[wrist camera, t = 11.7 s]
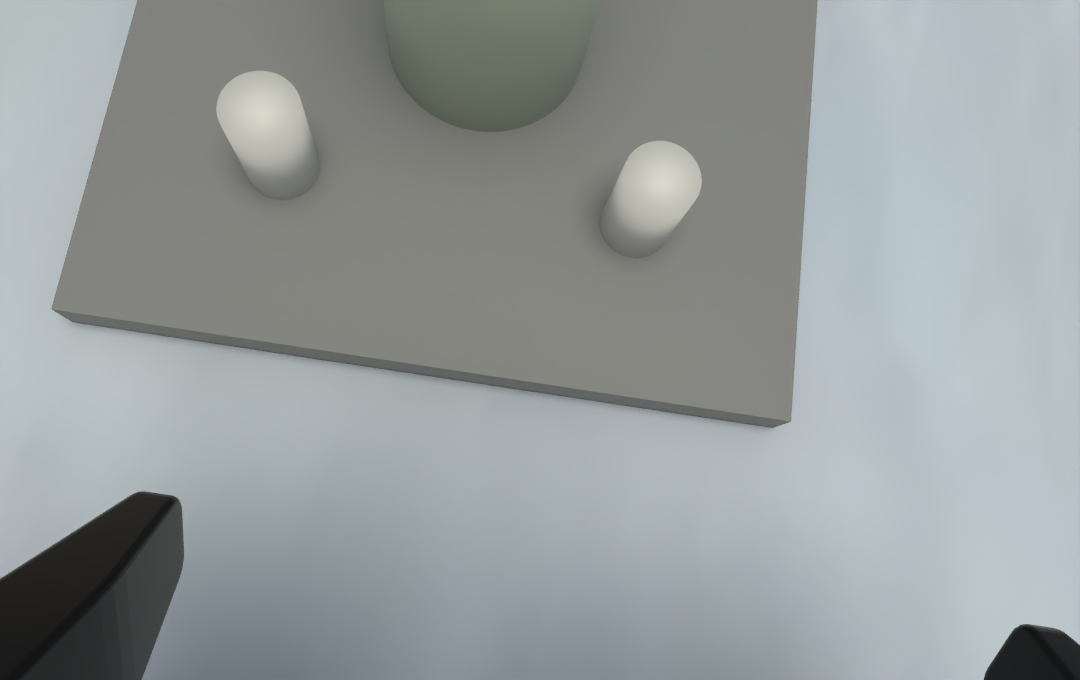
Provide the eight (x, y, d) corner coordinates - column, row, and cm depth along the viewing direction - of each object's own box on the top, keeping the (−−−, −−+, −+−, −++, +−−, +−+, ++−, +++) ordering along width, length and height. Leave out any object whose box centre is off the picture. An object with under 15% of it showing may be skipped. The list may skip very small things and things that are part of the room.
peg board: (773, 427, 23) (844, 402, 19) (72, 321, 22) (-14, 270, 17) (811, -140, 27) (876, -260, 23) (229, -258, 26) (190, -407, 22)
